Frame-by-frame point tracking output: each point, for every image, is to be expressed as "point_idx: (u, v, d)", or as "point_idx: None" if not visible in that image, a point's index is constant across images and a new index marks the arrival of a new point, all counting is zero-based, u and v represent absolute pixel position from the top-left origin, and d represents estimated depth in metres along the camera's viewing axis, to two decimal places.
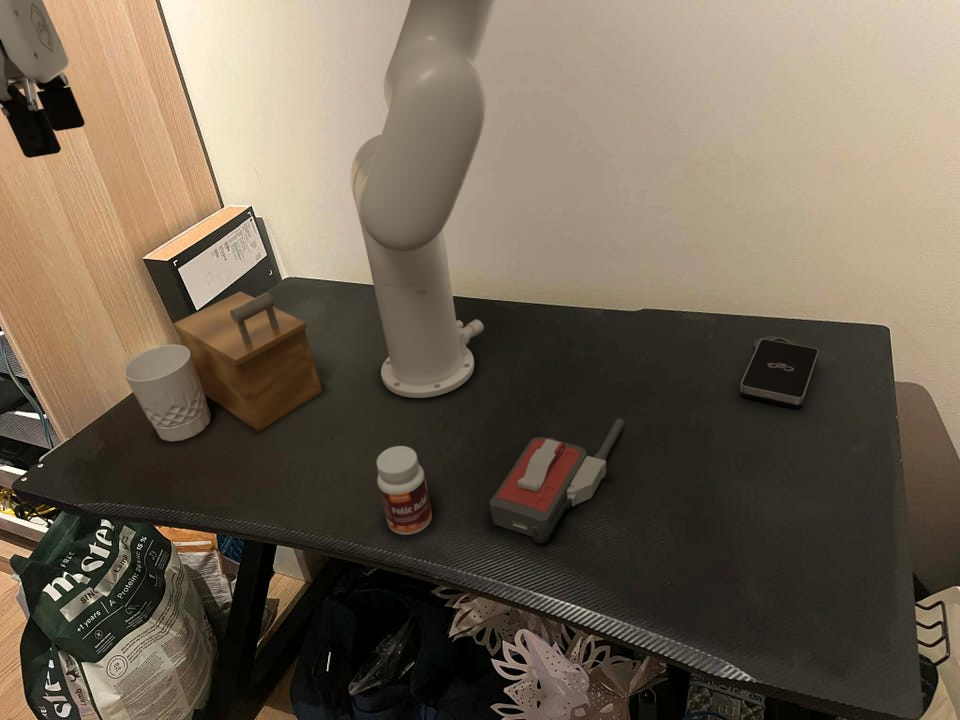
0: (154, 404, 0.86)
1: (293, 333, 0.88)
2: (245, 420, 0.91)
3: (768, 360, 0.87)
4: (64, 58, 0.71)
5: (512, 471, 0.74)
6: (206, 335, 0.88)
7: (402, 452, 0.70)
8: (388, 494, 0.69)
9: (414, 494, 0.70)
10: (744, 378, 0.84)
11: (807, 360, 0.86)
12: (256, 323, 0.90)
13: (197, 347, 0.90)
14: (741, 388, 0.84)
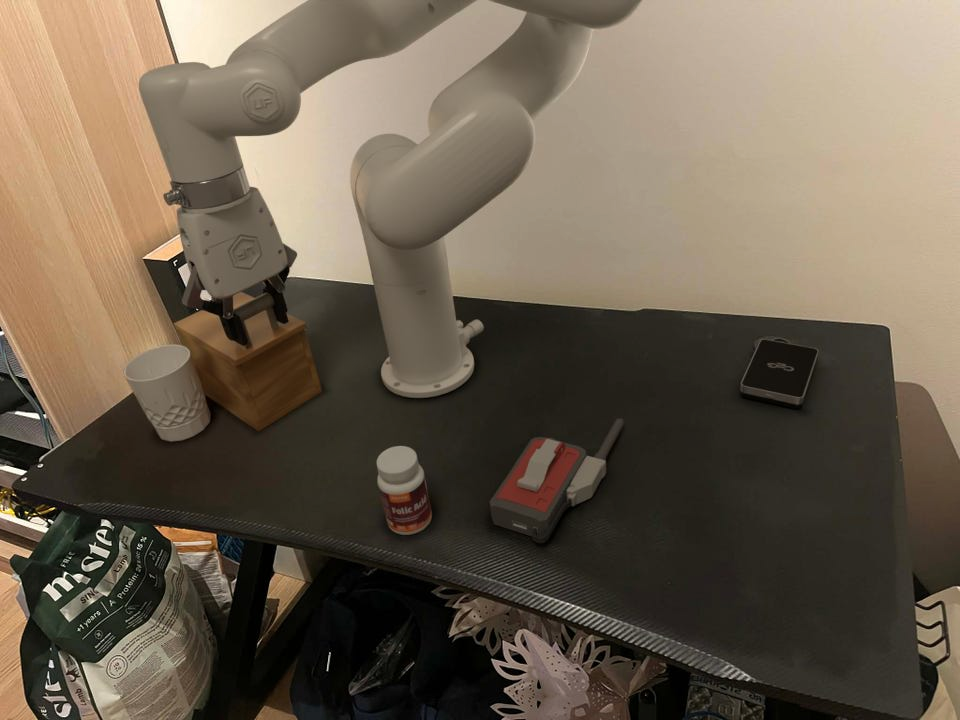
0: (154, 404, 0.86)
1: (293, 333, 0.88)
2: (245, 420, 0.91)
3: (768, 360, 0.87)
4: (275, 267, 0.82)
5: (512, 471, 0.74)
6: (206, 335, 0.88)
7: (402, 452, 0.70)
8: (388, 494, 0.69)
9: (414, 494, 0.70)
10: (744, 378, 0.84)
11: (807, 360, 0.86)
12: (256, 323, 0.90)
13: (197, 347, 0.90)
14: (742, 388, 0.83)
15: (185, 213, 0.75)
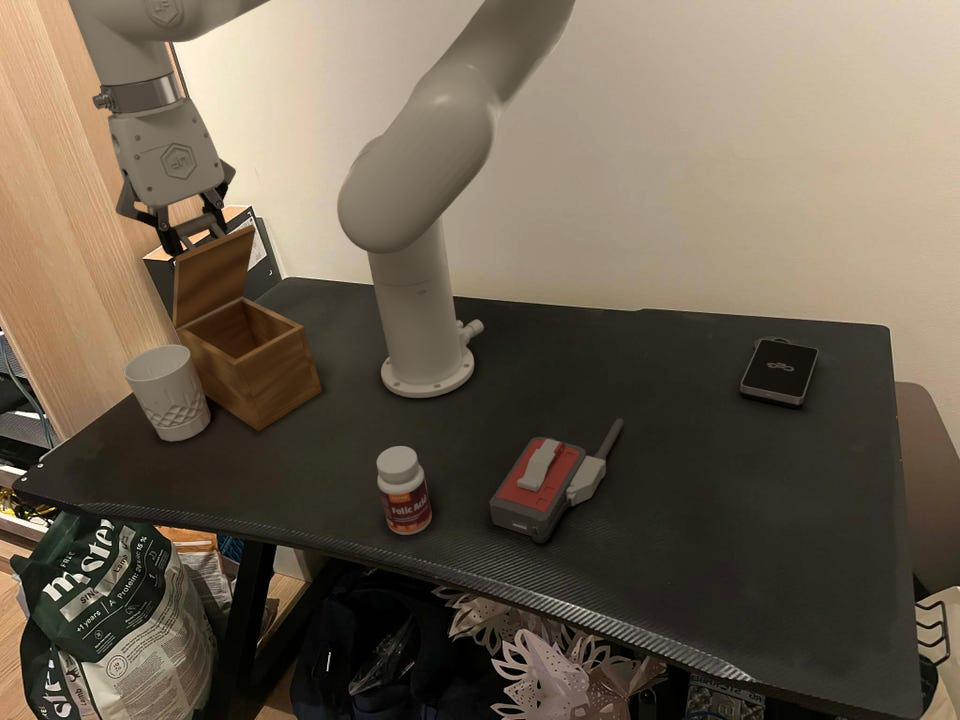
0: (154, 404, 0.86)
1: (240, 233, 0.84)
2: (245, 420, 0.91)
3: (768, 360, 0.87)
4: (211, 180, 0.83)
5: (512, 471, 0.74)
6: None
7: (402, 452, 0.70)
8: (388, 494, 0.69)
9: (414, 494, 0.70)
10: (744, 378, 0.84)
11: (807, 360, 0.86)
12: None
13: (197, 347, 0.90)
14: (742, 388, 0.83)
15: (115, 118, 0.75)
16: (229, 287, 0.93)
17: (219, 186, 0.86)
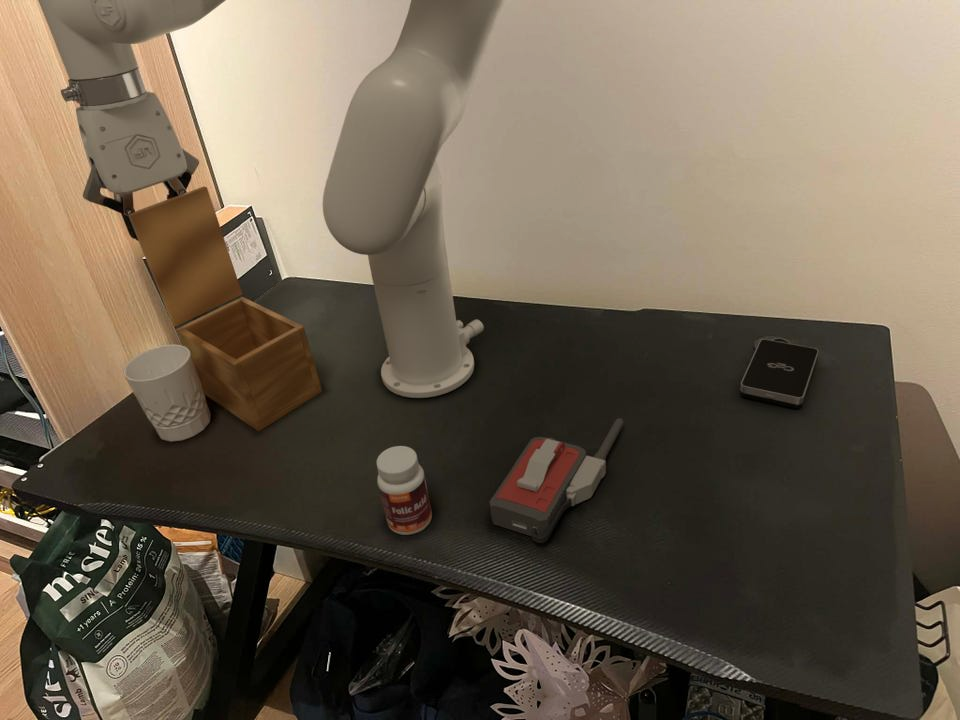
0: (154, 404, 0.86)
1: (191, 192, 0.88)
2: (245, 420, 0.91)
3: (768, 360, 0.87)
4: (174, 169, 0.89)
5: (512, 471, 0.74)
6: None
7: (402, 452, 0.70)
8: (388, 494, 0.69)
9: (414, 494, 0.70)
10: (744, 378, 0.84)
11: (807, 360, 0.86)
12: None
13: (197, 347, 0.90)
14: (741, 388, 0.84)
15: (82, 110, 0.81)
16: (216, 274, 0.94)
17: (182, 176, 0.92)
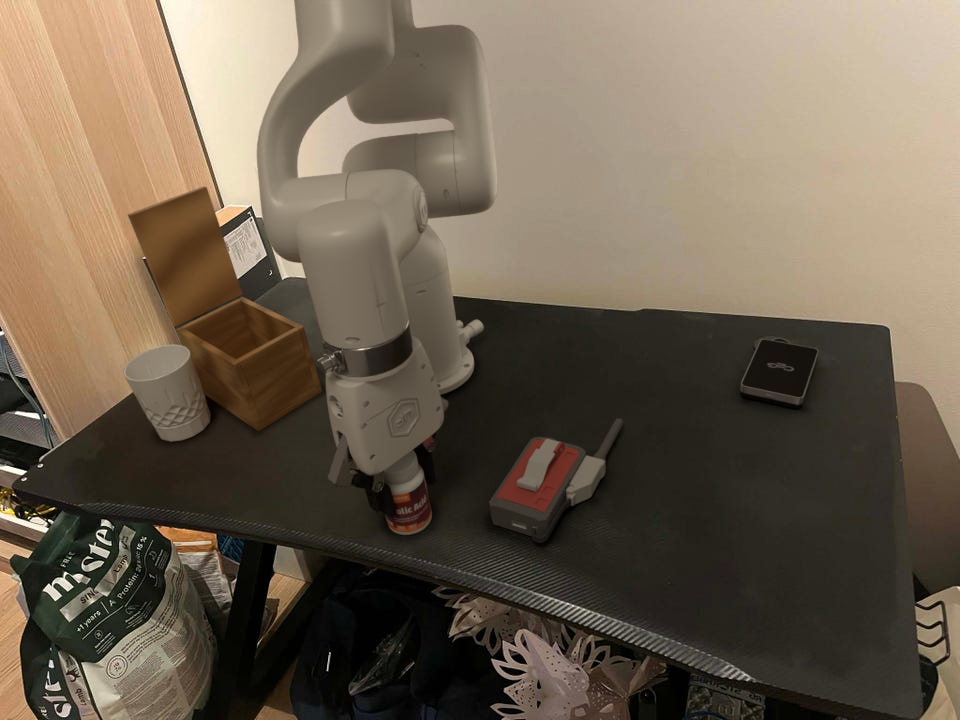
0: (154, 404, 0.86)
1: (191, 192, 0.88)
2: (245, 420, 0.91)
3: (768, 360, 0.87)
4: (432, 427, 0.68)
5: (511, 471, 0.74)
6: None
7: None
8: None
9: (414, 494, 0.69)
10: (744, 378, 0.84)
11: (807, 360, 0.86)
12: None
13: (197, 347, 0.90)
14: (742, 388, 0.83)
15: (339, 380, 0.60)
16: (216, 274, 0.94)
17: None
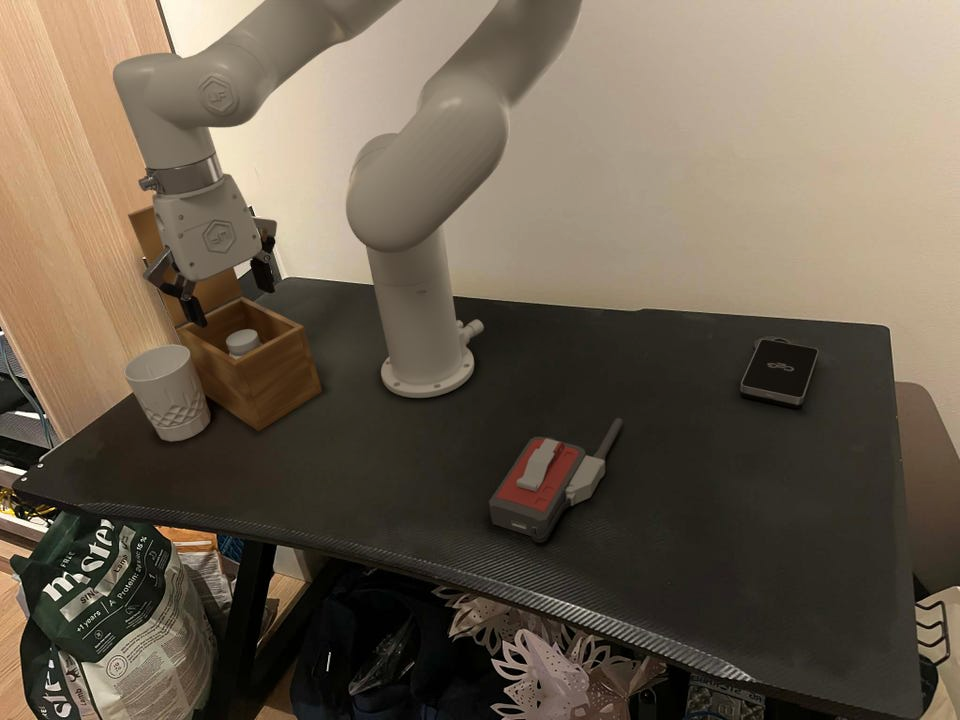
0: (154, 404, 0.86)
1: None
2: (245, 420, 0.91)
3: (768, 360, 0.87)
4: (250, 251, 0.85)
5: (511, 471, 0.74)
6: None
7: (247, 333, 0.92)
8: None
9: None
10: (744, 378, 0.84)
11: (807, 360, 0.86)
12: None
13: (197, 347, 0.90)
14: (742, 388, 0.83)
15: (160, 198, 0.78)
16: None
17: (267, 241, 0.89)
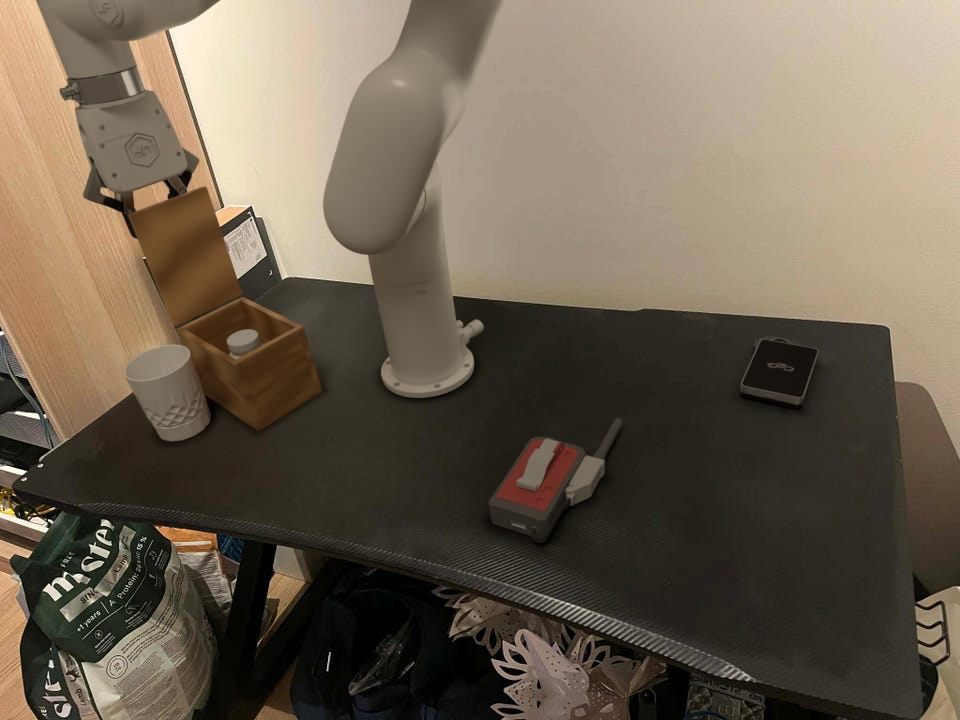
0: (154, 404, 0.86)
1: (191, 192, 0.88)
2: (245, 420, 0.91)
3: (768, 360, 0.87)
4: (174, 168, 0.88)
5: (511, 471, 0.74)
6: None
7: (248, 333, 0.92)
8: None
9: None
10: (744, 378, 0.84)
11: (807, 360, 0.86)
12: None
13: (197, 347, 0.90)
14: (742, 388, 0.83)
15: (81, 109, 0.81)
16: (216, 274, 0.94)
17: (183, 174, 0.91)
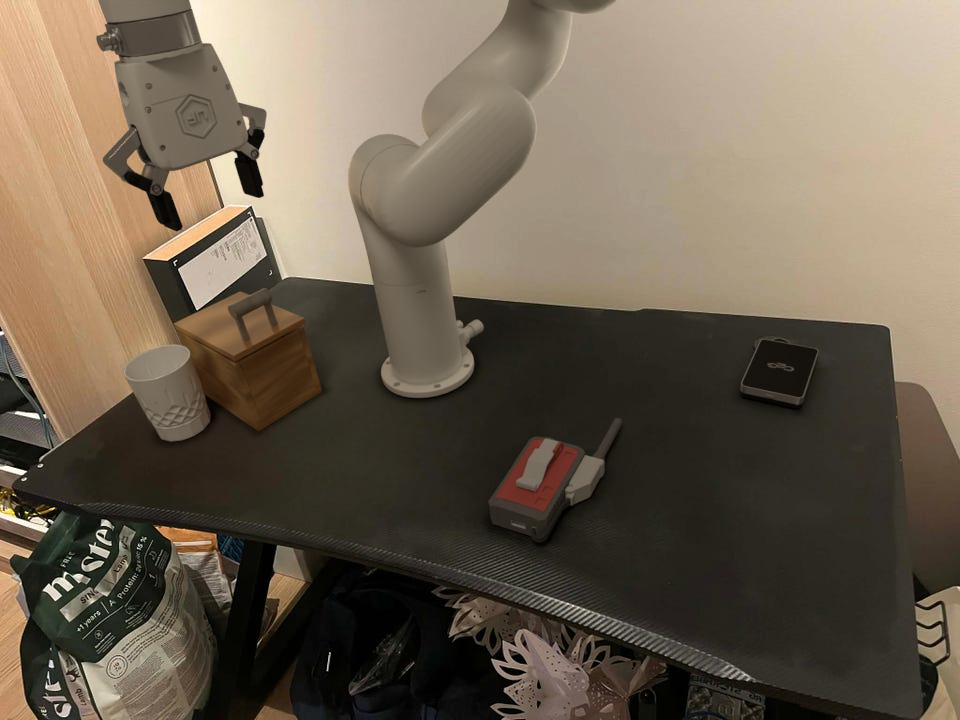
0: (154, 404, 0.86)
1: (291, 328, 0.87)
2: (245, 420, 0.91)
3: (768, 360, 0.87)
4: (233, 140, 0.71)
5: (510, 471, 0.74)
6: (205, 333, 0.88)
7: None
8: None
9: None
10: (744, 378, 0.84)
11: (807, 360, 0.86)
12: (255, 320, 0.89)
13: (197, 347, 0.90)
14: (742, 388, 0.83)
15: (123, 63, 0.64)
16: None
17: (255, 133, 0.75)
